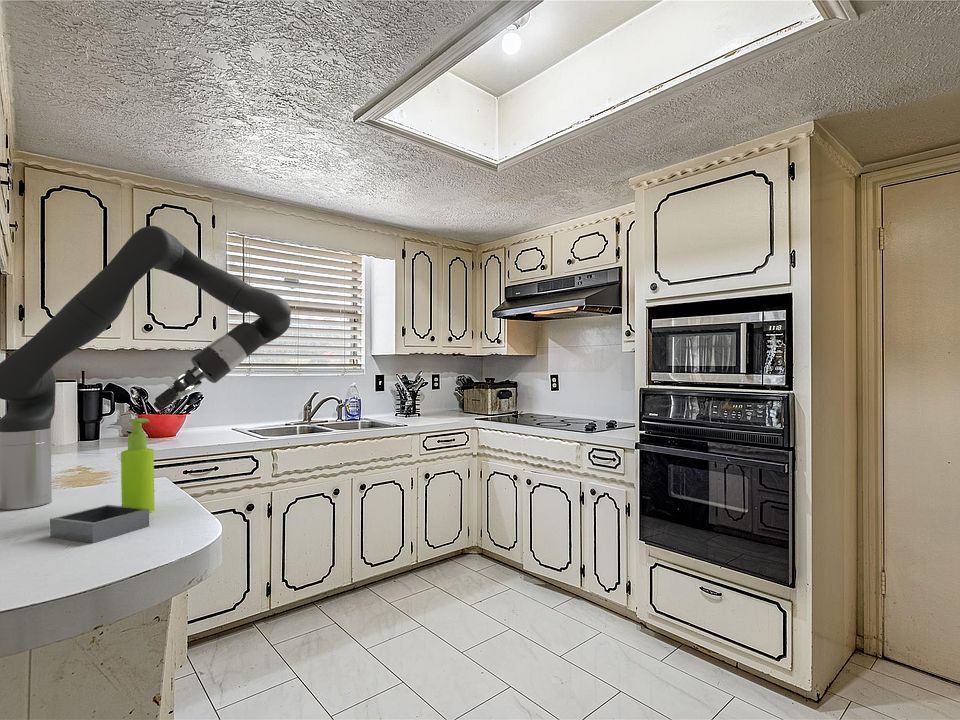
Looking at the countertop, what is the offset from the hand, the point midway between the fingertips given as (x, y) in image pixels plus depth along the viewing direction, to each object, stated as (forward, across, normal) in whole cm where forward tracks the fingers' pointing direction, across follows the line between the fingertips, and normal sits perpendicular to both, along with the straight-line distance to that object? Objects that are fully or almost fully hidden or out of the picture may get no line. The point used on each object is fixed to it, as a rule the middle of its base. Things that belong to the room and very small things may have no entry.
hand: (157, 405), depth 116 cm
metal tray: (+23, +7, +12) cm, 27 cm away
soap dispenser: (+17, -5, +15) cm, 23 cm away
